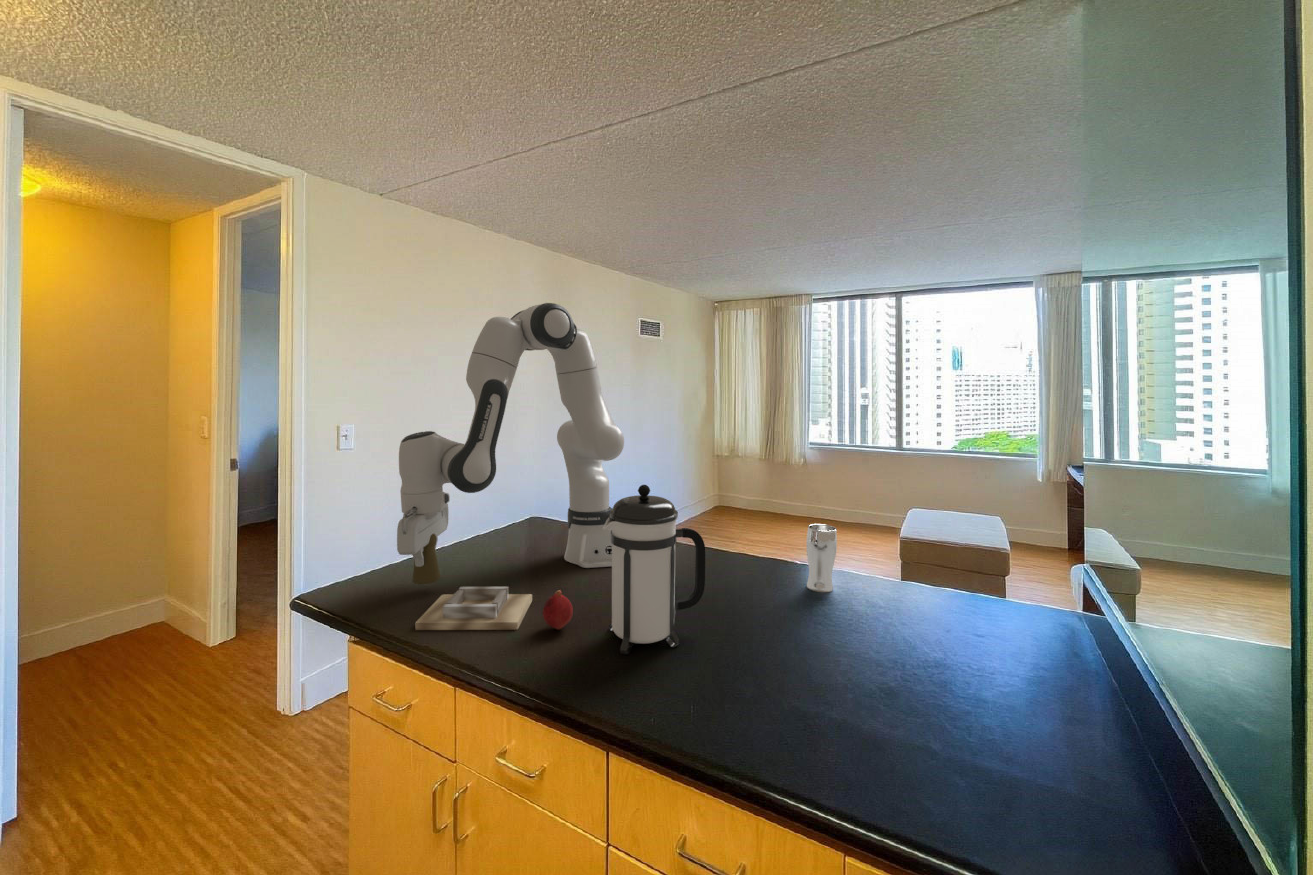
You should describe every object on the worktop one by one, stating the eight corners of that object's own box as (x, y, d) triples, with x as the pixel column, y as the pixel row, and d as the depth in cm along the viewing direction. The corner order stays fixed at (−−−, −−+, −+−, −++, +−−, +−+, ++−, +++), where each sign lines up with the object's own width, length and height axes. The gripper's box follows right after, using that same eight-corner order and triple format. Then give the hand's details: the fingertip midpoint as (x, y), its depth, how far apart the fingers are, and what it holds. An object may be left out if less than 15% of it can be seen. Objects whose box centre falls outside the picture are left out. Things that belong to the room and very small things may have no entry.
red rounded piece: (547, 638, 99) (547, 598, 99) (539, 626, 104) (539, 588, 104) (576, 632, 102) (576, 593, 101) (567, 620, 107) (567, 583, 106)
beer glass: (803, 590, 124) (805, 529, 123) (806, 580, 131) (808, 522, 129) (833, 595, 122) (836, 532, 120) (835, 584, 128) (838, 525, 127)
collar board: (532, 600, 117) (531, 583, 117) (517, 629, 103) (517, 610, 103) (442, 600, 116) (441, 583, 116) (415, 630, 102) (414, 610, 102)
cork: (445, 574, 124) (443, 529, 123) (431, 584, 118) (429, 537, 117) (421, 573, 124) (419, 529, 123) (406, 583, 118) (404, 536, 117)
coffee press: (660, 668, 89) (662, 497, 86) (588, 643, 98) (587, 486, 95) (705, 629, 104) (708, 481, 101) (639, 610, 112) (640, 473, 109)
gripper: (417, 513, 109) (420, 577, 110) (452, 492, 129) (455, 546, 131) (386, 514, 109) (390, 577, 110) (426, 493, 129) (429, 547, 131)
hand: (425, 560), depth 121 cm, fingers closed on cork, 5 cm apart
